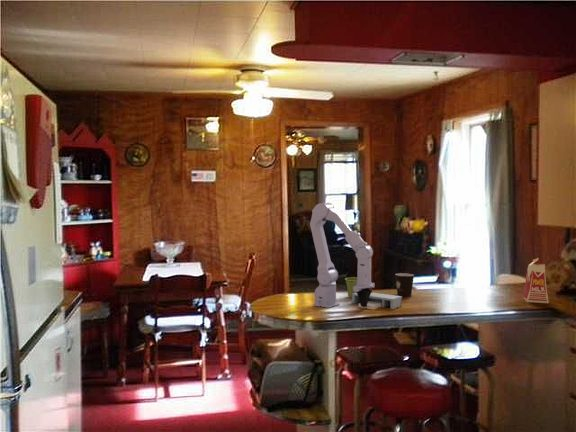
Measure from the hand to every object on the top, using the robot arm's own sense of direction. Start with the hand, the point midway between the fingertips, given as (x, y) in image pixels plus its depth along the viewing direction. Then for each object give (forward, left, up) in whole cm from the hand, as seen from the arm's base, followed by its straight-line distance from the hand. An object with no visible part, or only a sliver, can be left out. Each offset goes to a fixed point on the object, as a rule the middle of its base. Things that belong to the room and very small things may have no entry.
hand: (363, 306), depth 241 cm
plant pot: (+20, +16, -1) cm, 25 cm away
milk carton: (+66, -52, -1) cm, 84 cm away
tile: (+7, 0, -1) cm, 7 cm away
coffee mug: (+40, +1, -1) cm, 40 cm away
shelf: (+11, 0, -1) cm, 11 cm away
